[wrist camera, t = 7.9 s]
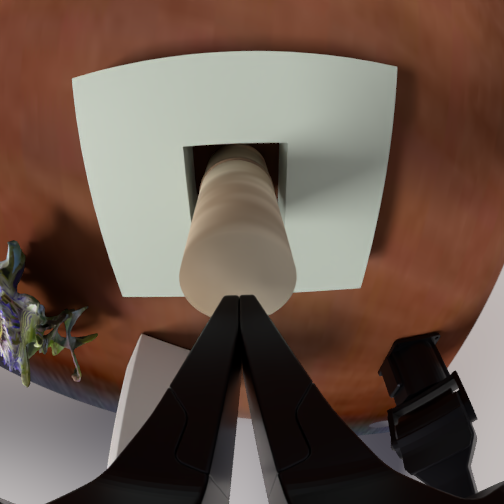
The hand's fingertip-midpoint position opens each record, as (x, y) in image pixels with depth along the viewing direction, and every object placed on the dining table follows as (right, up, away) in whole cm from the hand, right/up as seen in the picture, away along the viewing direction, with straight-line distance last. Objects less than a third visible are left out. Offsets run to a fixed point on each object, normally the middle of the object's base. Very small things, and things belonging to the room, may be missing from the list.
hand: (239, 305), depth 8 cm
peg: (-1, +6, +9) cm, 11 cm away
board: (-1, +6, +9) cm, 11 cm away
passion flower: (-17, -2, +14) cm, 22 cm away
